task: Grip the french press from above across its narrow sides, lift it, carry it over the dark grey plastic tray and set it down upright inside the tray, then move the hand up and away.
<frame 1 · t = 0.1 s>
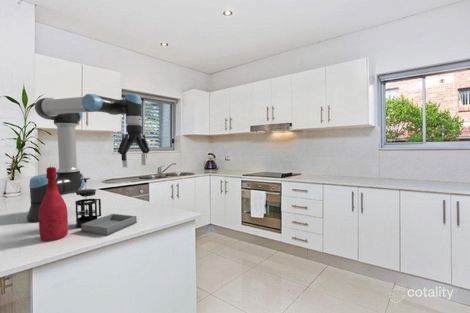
hand: (135, 166, 128), 28 cm above the worktop, tool pointing down, fingers open, 13 cm apart
tray: (110, 227, 117), on the worktop
wine bottle: (54, 237, 105), on the worktop
french press: (88, 224, 121), on the worktop
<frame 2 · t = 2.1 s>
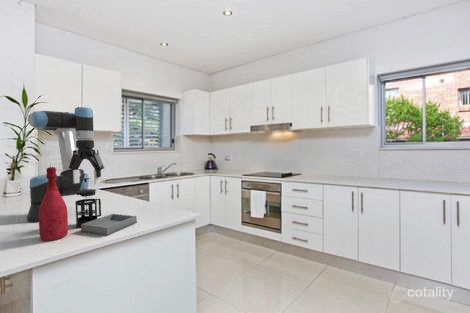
hand: (86, 183, 120), 20 cm above the worktop, tool pointing down, fingers open, 13 cm apart
nothing on the worktop moved.
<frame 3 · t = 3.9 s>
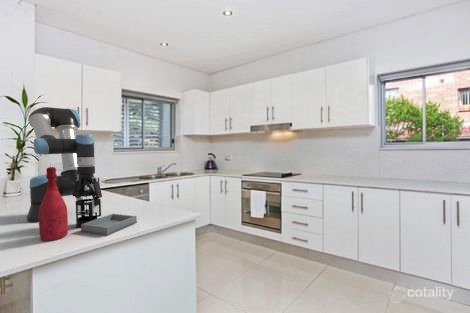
hand: (87, 211, 121), 6 cm above the worktop, tool pointing down, fingers closed on french press, 9 cm apart
french press: (88, 224, 121), on the worktop, touching gripper
everything else where it was.
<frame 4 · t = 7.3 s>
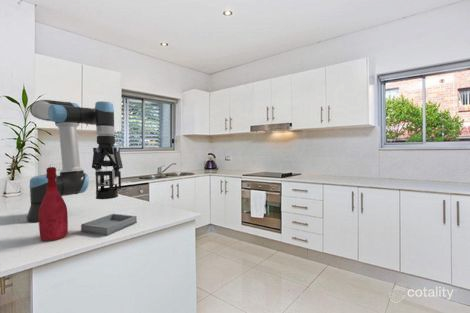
hand: (107, 183, 116), 21 cm above the worktop, tool pointing down, fingers closed on french press, 9 cm apart
french press: (108, 197, 116), point 14 cm above the worktop, touching gripper
everything else where it was.
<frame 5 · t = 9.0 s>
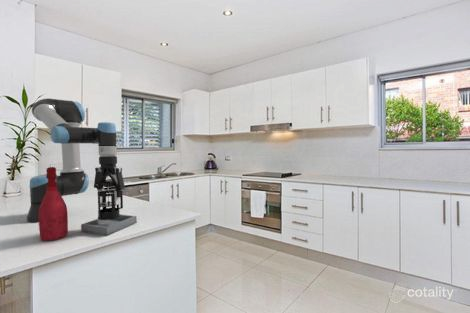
hand: (109, 203, 116), 11 cm above the worktop, tool pointing down, fingers closed on french press, 9 cm apart
french press: (110, 217, 116), point 5 cm above the worktop, touching gripper
everything else where it was.
when the fingers open (9 cm above the worktop, at t = 10.4 s): french press drops 1 cm, resting on tray.
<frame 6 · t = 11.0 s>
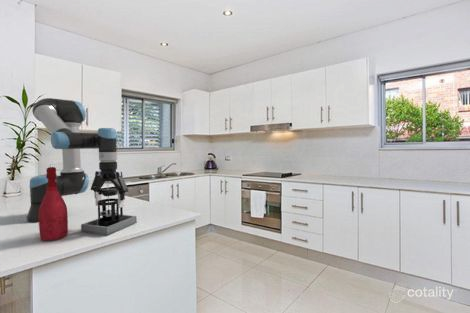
hand: (109, 206, 116), 10 cm above the worktop, tool pointing down, fingers open, 13 cm apart
french press: (110, 225, 117), point 1 cm above the worktop, touching tray
everything else where it was.
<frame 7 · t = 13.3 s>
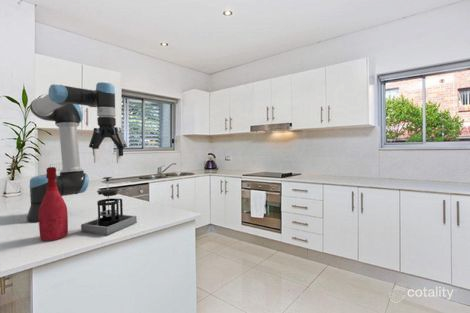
hand: (108, 162, 115), 31 cm above the worktop, tool pointing down, fingers open, 13 cm apart
nothing on the worktop moved.
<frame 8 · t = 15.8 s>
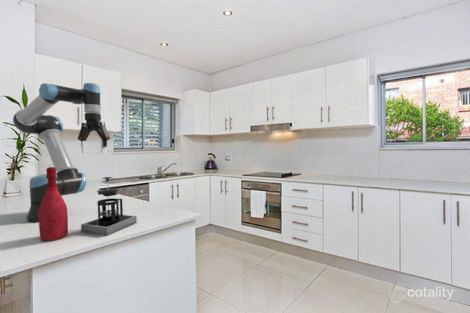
hand: (94, 153, 132), 35 cm above the worktop, tool pointing down, fingers open, 13 cm apart
nothing on the worktop moved.
at the end: french press inside the target area on the tray (0.1 cm from its centre), point 0.8 cm above the tray's base; french press tilted 0°; the gripper is holding nothing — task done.
